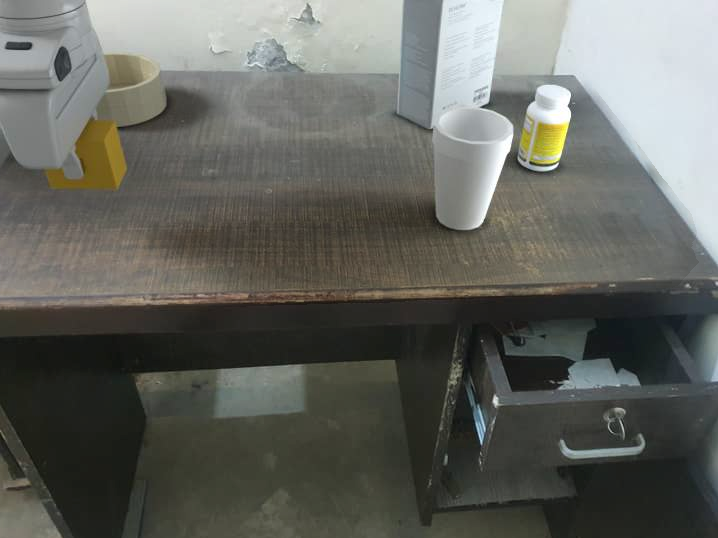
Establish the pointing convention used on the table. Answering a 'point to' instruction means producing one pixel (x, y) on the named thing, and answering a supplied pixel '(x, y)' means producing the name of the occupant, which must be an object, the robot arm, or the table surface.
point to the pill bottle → (545, 128)
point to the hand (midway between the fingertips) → (84, 162)
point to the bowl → (132, 90)
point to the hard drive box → (446, 56)
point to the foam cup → (468, 163)
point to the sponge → (95, 159)
